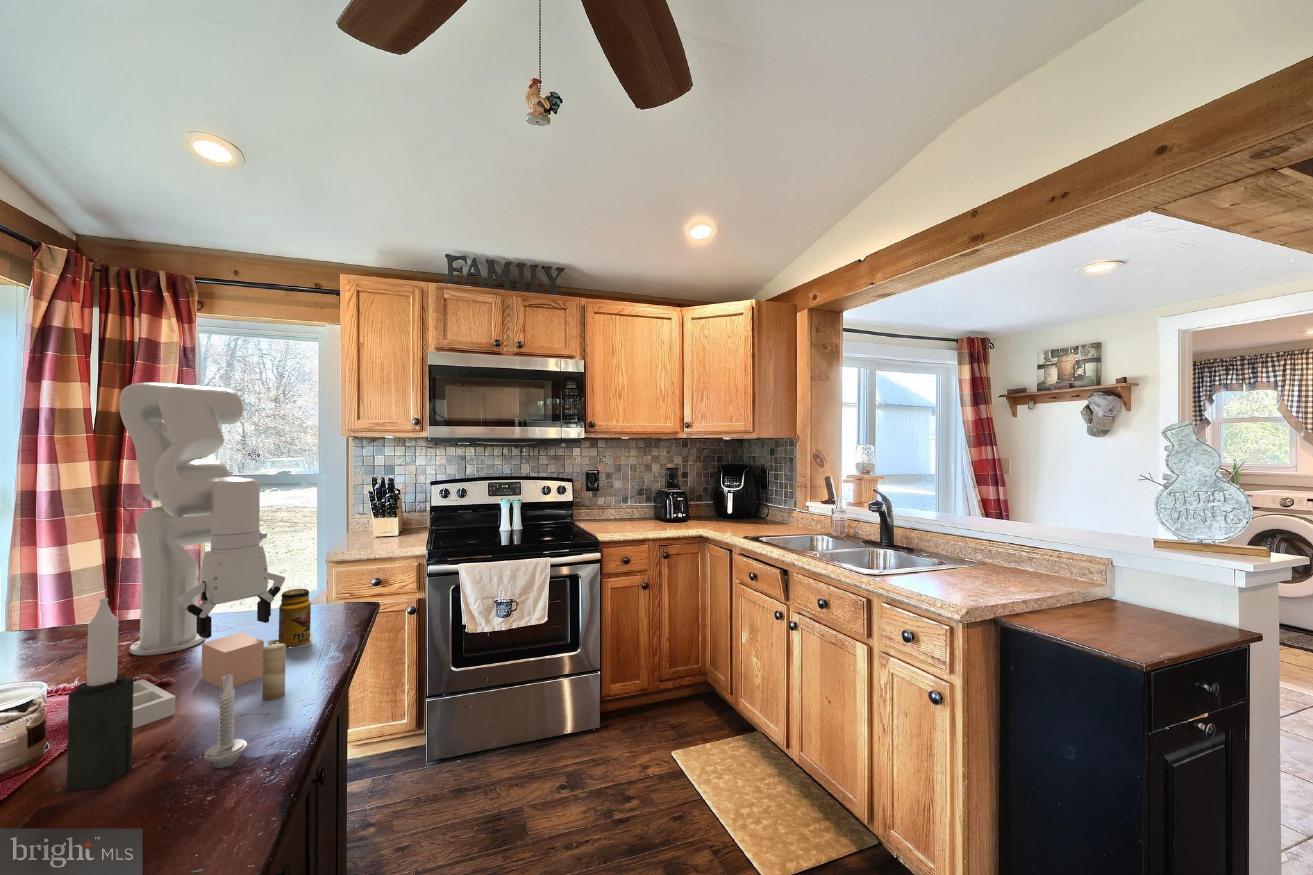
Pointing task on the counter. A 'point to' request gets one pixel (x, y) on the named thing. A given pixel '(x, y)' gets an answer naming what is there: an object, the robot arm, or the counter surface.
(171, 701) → the socket board
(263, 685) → the pin
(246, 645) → the block
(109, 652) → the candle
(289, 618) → the condiment
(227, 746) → the screw
